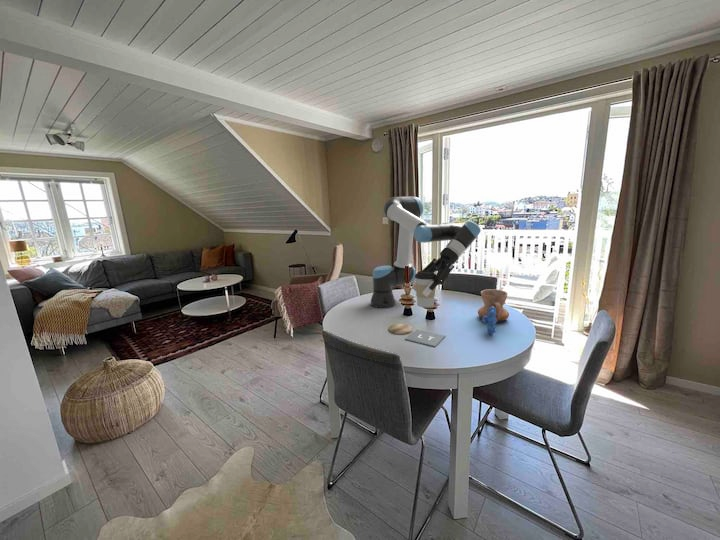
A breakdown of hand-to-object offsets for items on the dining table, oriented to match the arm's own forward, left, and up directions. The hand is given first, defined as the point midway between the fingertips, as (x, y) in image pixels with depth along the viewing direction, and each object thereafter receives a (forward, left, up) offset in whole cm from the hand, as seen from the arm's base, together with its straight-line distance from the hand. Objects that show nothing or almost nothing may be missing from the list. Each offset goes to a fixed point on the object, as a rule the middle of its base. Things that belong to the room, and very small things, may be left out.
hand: (418, 291), depth 125 cm
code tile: (+2, +3, -22) cm, 22 cm away
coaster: (-12, +6, -22) cm, 25 cm away
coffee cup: (+2, +3, -6) cm, 7 cm away
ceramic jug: (+22, +42, -22) cm, 52 cm away
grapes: (+24, +24, -22) cm, 40 cm away
